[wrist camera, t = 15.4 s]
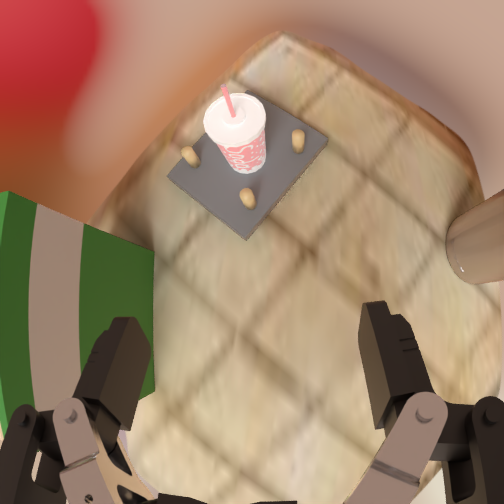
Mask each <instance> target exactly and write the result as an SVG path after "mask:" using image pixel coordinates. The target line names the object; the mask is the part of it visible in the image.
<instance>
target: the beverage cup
mask: <svg viewBox="0 0 504 504" xmlns="http://www.w3.org/2000/svg"><path fill="white" fill-rule="evenodd" d="M221 89H222V92H223V95H224V96H222V97H220V98H219V99H217V100H216V101H214V102H213V103H212V104H211V105H210V106H209V108H208V109H207V110H206V112H205V116H204V120H203V123H204V127H205V131H206V133H207V134H208V136H209V137H210V138H211V139H212V140H213V141H214V142H215V143H216V144H217V145H218V147H219V149H220V150H221V152H222V153H223V155H224V156H225V158H226V159H227V161H228V163H229V164H230V166H231V167H232V168H233V169H234V170H235V171H237V172H239V173H245V174H249V173H253V172H256V171H257V170H258V169H260V168H261V167H262V166H263V164H264V162H265V159H266V145H265V130H264V128H265V122H266V113H265V110H264V107H263V104H262V103H261V102H260V101H259V100H258V99H256V98H255V97H253V96H251V95H248V94H245V93H232V94H229V92H228V89H227V86H226V84H222V85H221Z"/></svg>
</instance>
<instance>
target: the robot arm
mask: <svg viewBox="0 0 504 504" xmlns="http://www.w3.org/2000/svg"><path fill="white" fill-rule="evenodd" d="M446 252H447V256H448V260H449V263H450V265H451V267H452V269H453V270H454V272H455V273H456V274H457V275H458V277H459V278H461V279H462V280H463V281H465V282H467V283H470V284H482V283H489V282H497V281H502V280H504V189H503V190H502V191H500V192H498V193H497V194H495V195H493V196H492V197H490V198H489V199H487V200H485V201H484V202H482V203H481V204H479V205H477V206H476V207H474V208H472V209H471V210H469V211H467V212H466V213H464V214H462V215H461V216H459V217H458V218H456V219H455V220H454V221H453V223H452V224H451V226H450V228H449V230H448V233H447V238H446ZM358 343H359V350H360V354H361V359H362V363H363V368H364V373H365V378H366V383H367V388H368V393H369V398H370V404H371V409H372V415H373V420H374V426H375V430H376V429H381V428H384V430H385V436H386V438H385V440H384V442H383V443H382V445H381V447H380V449H379V450H378V452H377V454H376V455H375V457H374V458H373V460H372V462H371V463H370V465H369V466H368V468H367V469H366V471H365V472H364V474H363V476H362V477H361V479H360V480H359V481H358V483H357V484H356V486H355V487H354V489H353V490H352V491H351V493H350V494H349V495H348V497H347V498H346V500H345V501H344V502H343V504H410V503H411V501H412V499H413V497H414V496H415V494H416V492H417V490H418V487H419V484H420V482H419V480H420V477H421V475H422V473H423V471H424V469H425V467H426V465H427V463H428V461H429V460H431V461H441V462H442V469H443V476H444V485H445V494H446V504H504V402H503V401H501V400H500V399H499V398H497V397H493V396H488V397H484V398H482V399H480V400H479V401H478V402H477V403H476V404H475V405H465V404H452V403H448V402H446V401H444V400H443V399H442V398H441V397H440V396H438V395H437V394H436V393H435V392H434V390H433V388H432V385H431V382H430V379H429V376H428V373H427V370H426V367H425V364H424V361H423V358H422V355H421V352H420V350H419V347H418V344H417V341H416V340H415V336H414V333H413V331H412V328H411V325H410V324H409V323H408V322H407V320H406V319H405V318H404V317H403V316H402V315H401V314H396V315H391V314H390V311H389V309H388V306H387V303H386V302H385V301H375V302H367V303H363V305H362V311H361V318H360V325H359V331H358ZM150 358H151V346H150V343H149V341H148V339H147V337H146V335H145V333H144V332H143V330H142V328H141V326H140V324H139V322H138V320H137V319H136V318H135V317H115V318H114V319H113V320H112V322H111V325H110V327H109V329H108V330H104V332H103V333H102V334H101V335H100V336H99V337H98V338H97V339H96V341H95V343H94V345H93V348H92V350H91V354H90V355H89V357H88V359H87V363H86V364H85V366H84V369H83V371H82V374H81V376H80V379H79V381H78V384H77V386H76V389H75V391H74V394H73V396H72V398H67V399H64V400H63V401H61V402H60V403H59V404H58V405H57V406H56V408H55V409H54V410H47V411H40V412H38V411H37V410H36V409H35V408H34V407H33V406H31V405H29V404H23V405H21V406H19V407H18V408H16V409H15V411H14V412H13V414H12V416H11V419H10V422H9V425H8V428H7V430H6V433H5V436H4V440H3V443H2V446H1V449H0V504H66V499H67V500H68V502H69V504H207V503H204V502H201V501H199V500H196V499H193V498H190V497H182V496H175V495H168V494H162V493H159V494H158V499H154V497H153V495H152V494H151V492H150V491H149V489H148V488H147V487H146V486H145V485H144V484H143V482H141V480H140V479H139V478H138V476H137V474H136V472H135V470H134V468H133V466H132V464H131V462H130V460H129V457H128V455H127V453H126V451H125V449H124V447H123V445H122V442H121V440H120V438H119V437H118V433H119V430H120V429H121V430H126V431H130V430H131V426H132V423H133V419H134V415H135V411H136V407H137V404H138V400H139V396H140V393H141V389H142V386H143V382H144V379H145V375H146V372H147V368H148V365H149V361H150ZM37 450H39V451H40V452H42V456H41V460H40V463H39V467H38V472H37V476H36V480H35V482H34V481H33V480H32V476H31V473H32V469H33V465H34V461H35V457H36V454H37ZM252 504H297V501H275V502H257V503H252Z"/></svg>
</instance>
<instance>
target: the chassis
mask: <svg viewBox="0 0 504 504" xmlns="http://www.w3.org/2000/svg"><path fill="white" fill-rule="evenodd" d="M245 94H248V95H251V96H253V97H255V98H256V99H258V100H259V101H260V102H261V103H262V104H263V107H264V110H265V113H266V122H265V128H264V130H265V145H266V159H265V162H264V164H263V166H262V167H261V168H260V169H258V170H257V171H256V172H253V173H249V174H245V173H239V172H237V171H235V170H234V169H233V168H232V167H231V166H230V164H229V163H228V161H227V159H226V158H225V156H224V155H223V153H222V152H221V150H220V149H219V147H218V145H217V144H216V143H215V142H214V141H213V140H212V139H211V138H210V137H209V136H208V134H207V133H205V134H204V135H203V136H202V137H201V138H200V139H199V140H198V141H197V142H196V143H195V144H194V146H193V147H191V146H185V147H183V148H182V150H181V154H182V156H183V158H182V159H181V160H180V161H179V162H178V163H177V165H176V166H175V167H174V168H173V169H172V170H171V172H170V173H169V174H168V175H167V177H168V178H169V179H170V180H171V181H172V182H173V183H174V184H176V185H177V186H178V187H179V188H181V189H182V190H183V191H184V192H186V193H187V194H188V195H189V196H191V197H192V198H193V199H194V200H196V201H197V202H198V203H199V204H201V205H202V206H203V207H204V208H206V209H207V210H208V211H209V212H211V213H212V214H213V215H214V216H216V217H217V218H218V219H219V220H221V221H222V222H223V223H224V224H226V225H227V226H228V227H229V228H231V229H232V230H233V231H234V232H236V233H237V234H238V235H239V236H241V237H242V238H243V239H244V240H246V241H247V240H248V238H249V237H250V236H251V235H252V234H253V232H254V231H255V230H256V229H257V227H258V226H259V225H260V224H261V223H262V221H263V220H264V219H265V218H266V217H267V215H268V214H269V213H270V212H271V211H272V209H273V208H274V207H275V206H276V205H277V203H278V202H279V201H280V200H281V199H282V197H283V196H284V195H285V194H286V193H287V191H288V190H289V189H290V188H291V187H292V185H293V184H294V183H295V182H296V181H297V179H298V178H299V177H300V176H301V175H302V173H303V172H304V171H305V170H306V169H307V167H308V166H309V165H310V164H311V163H312V162H313V160H314V159H315V158H316V157H317V156H318V154H319V153H320V152H321V151H322V150H323V148H324V147H325V146H326V145H327V142H328V138H327V137H325V136H324V135H322V134H321V133H319V132H318V131H316V130H315V129H313V128H311V127H310V126H308V125H307V124H305V123H303V122H302V121H300V120H299V119H297V118H295V117H294V116H292V115H290V114H289V113H287V112H285V111H284V110H282V109H280V108H279V107H277V106H275V105H274V104H272V103H270V102H268V101H267V100H265V99H263V98H261V97H259V96H258V95H256V94H254V93H252V92H250V91H249V90H247V91H246V92H245Z"/></svg>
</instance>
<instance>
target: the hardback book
mask: <svg viewBox="0 0 504 504" xmlns="http://www.w3.org/2000/svg"><path fill="white" fill-rule="evenodd" d="M153 276H154V252H153V251H151V250H148V249H146V248H143V247H141V246H138V245H136V244H133V243H131V242H128V241H126V240H123V239H121V238H118V237H116V236H113V235H111V234H109V233H106V232H104V231H101V230H99V229H96V228H94V227H92V226H89V225H87V224H84V223H82V222H80V221H77V220H75V219H72V218H70V217H68V216H65V215H63V214H61V213H58V212H56V211H54V210H51V209H49V208H47V207H44V206H42V205H40V204H37V203H35V202H33V201H31V200H28V199H26V198H24V197H22V196H19V195H17V194H15V193H13V192H10V191H6V192H2V193H0V439H1V440H2V441H3V440H4V436H5V433H6V430H7V428H8V425H9V422H10V419H11V416H12V414H13V412H14V411H15V409H16V408H18V407H19V406H21V405H23V404H29V405H31V406H33V407H34V408H35V409H36V410H37V411H38V412H40V411H47V410H54V409H55V408H56V406H57V405H58V404H59V403H60V402H61V401H63V400H64V399H67V398H72V396H73V394H74V391H75V389H76V386H77V384H78V381H79V379H80V376H81V374H82V371H83V369H84V366H85V364H86V363H87V359H88V357H89V355H90V354H91V350H92V348H93V345H94V343H95V341H96V339H97V338H98V337H99V336H100V335H101V334H102V333H103V332H104V330H108V329H109V327H110V325H111V322H112V320H113V319H114V318H115V317H135V318H136V319H137V320H138V322H139V324H140V326H141V328H142V330H143V332H144V333H145V335H146V337H147V339H148V341H149V343H150V346H151V358H150V361H149V365H148V368H147V372H146V375H145V379H144V382H143V386H142V389H141V393H140V396H139V400H140V399H142V398H144V397H146V396H147V395H149V394H151V393H153V392H154V391H155V384H154V359H153ZM139 400H138V401H139ZM37 452H39V450H37Z"/></svg>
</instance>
